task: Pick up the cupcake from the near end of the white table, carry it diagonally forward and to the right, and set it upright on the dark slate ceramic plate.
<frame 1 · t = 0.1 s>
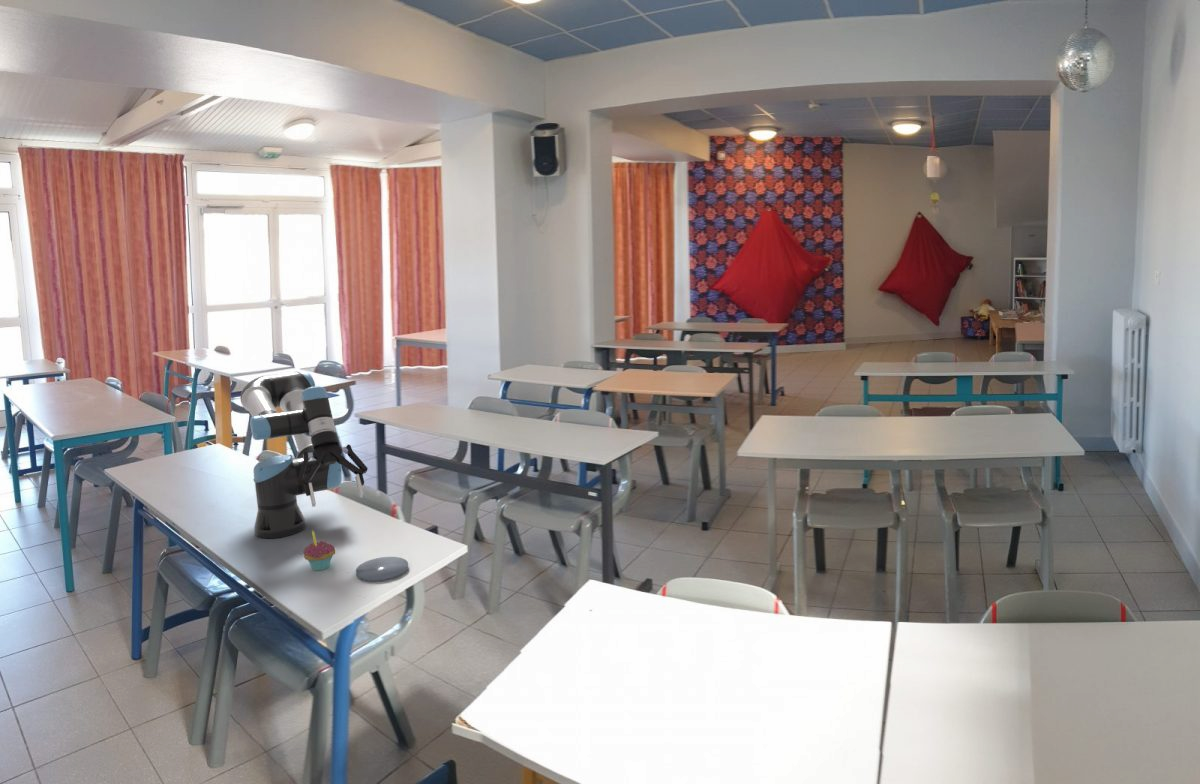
hand: (338, 500, 234), 15 cm above the table, tool tilted 35°, fingers open, 13 cm apart
slate plate: (382, 571, 221), on the table
cupcake: (320, 567, 225), on the table
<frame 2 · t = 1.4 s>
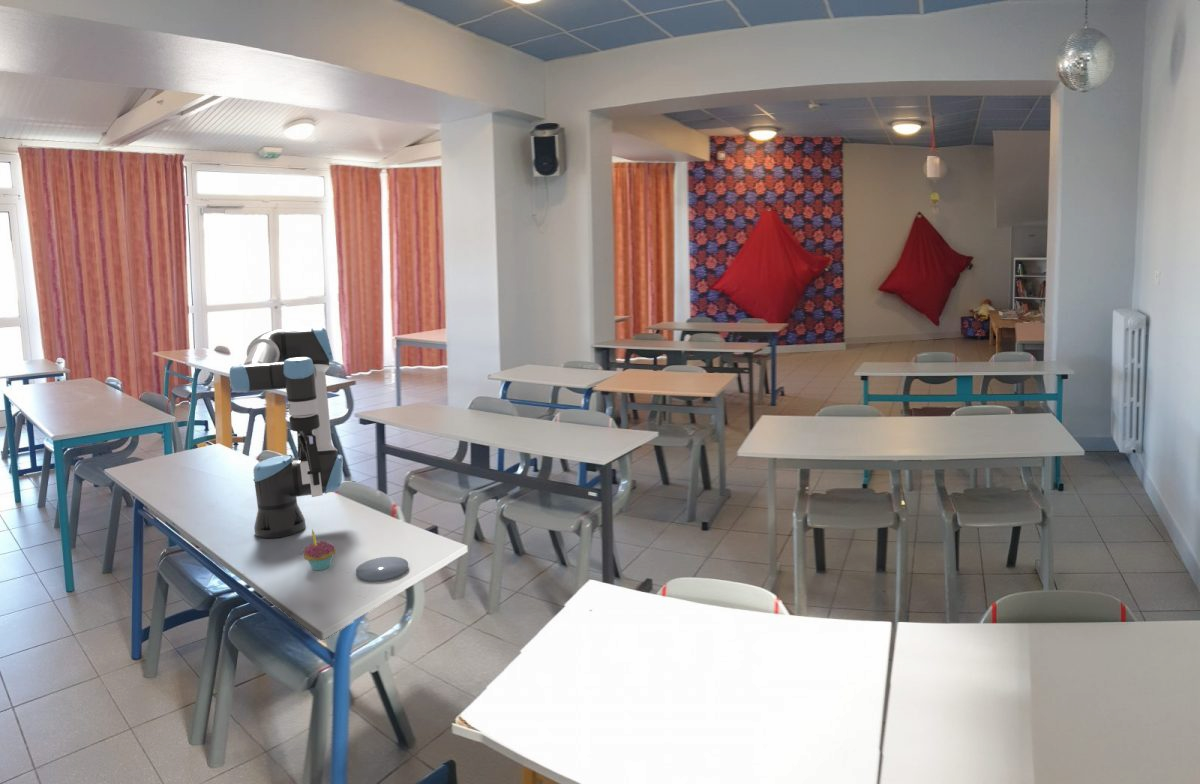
hand: (312, 489, 221), 23 cm above the table, tool pointing down, fingers open, 13 cm apart
nothing on the table moved.
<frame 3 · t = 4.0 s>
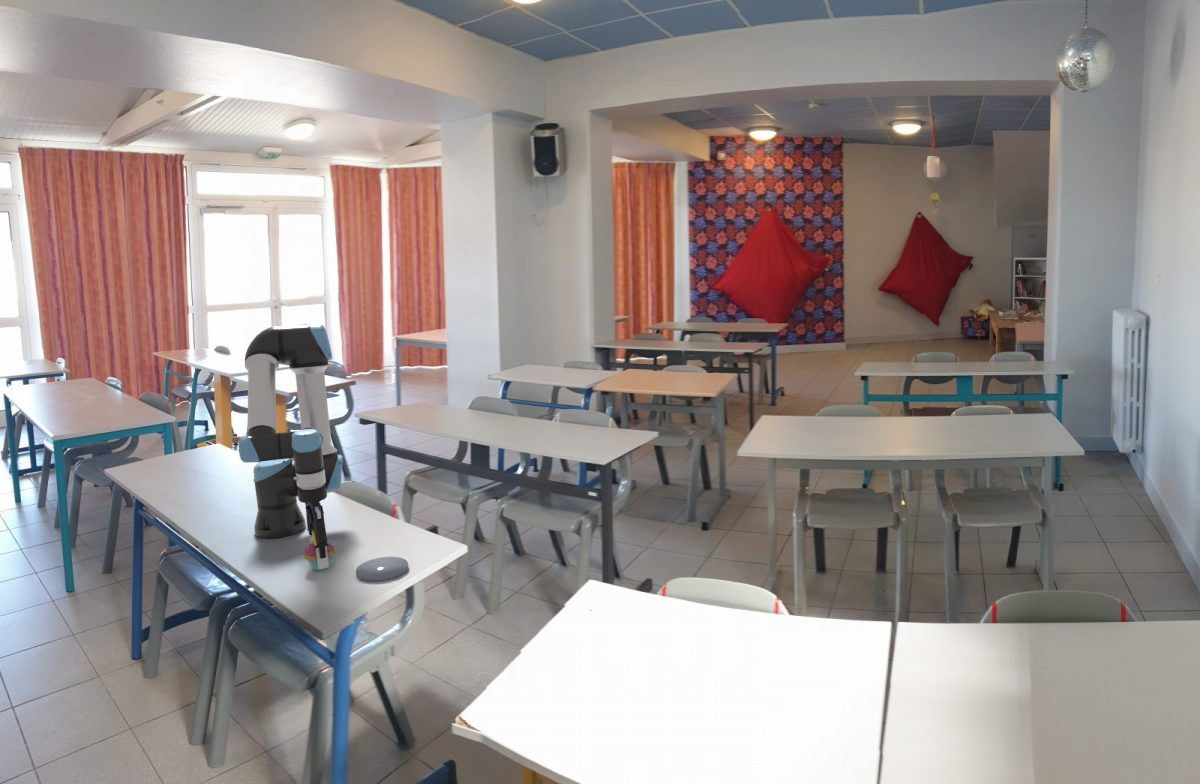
hand: (320, 562, 225), 1 cm above the table, tool pointing down, fingers closed on cupcake, 8 cm apart
cupcake: (320, 567, 225), on the table, touching gripper
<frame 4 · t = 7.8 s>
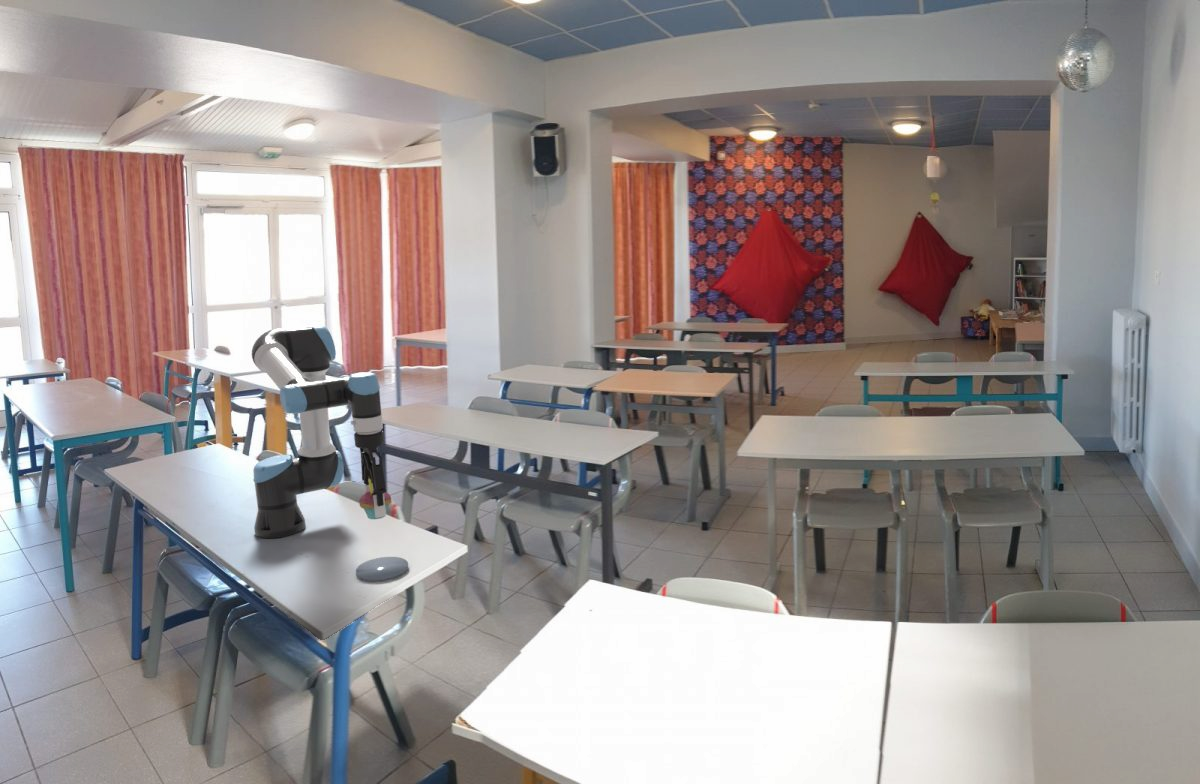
hand: (376, 511, 217), 17 cm above the table, tool pointing down, fingers closed on cupcake, 8 cm apart
cupcake: (376, 517, 218), point 16 cm above the table, touching gripper
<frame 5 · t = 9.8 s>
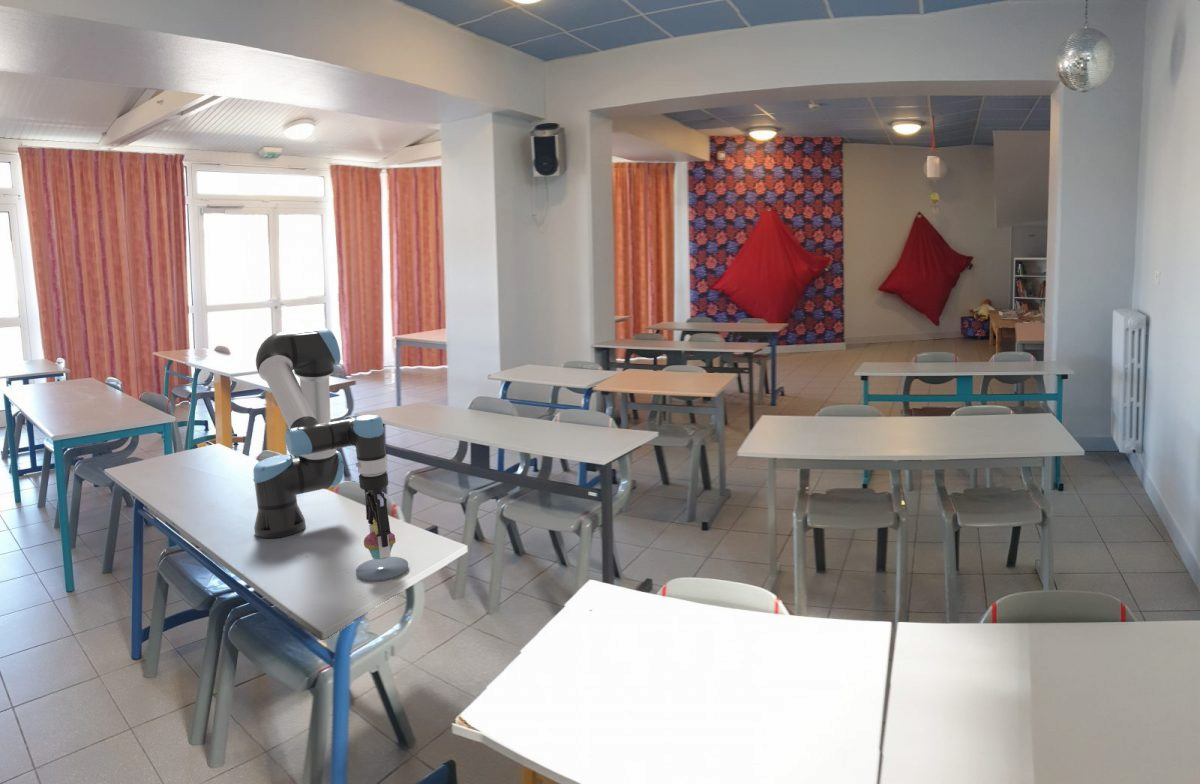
hand: (380, 551, 220), 6 cm above the table, tool pointing down, fingers closed on cupcake, 8 cm apart
cupcake: (381, 556, 220), point 4 cm above the table, touching gripper
when the fingers open (4 cm above the table, at t = 11.1 s): cupcake drops 1 cm, resting on slate plate.
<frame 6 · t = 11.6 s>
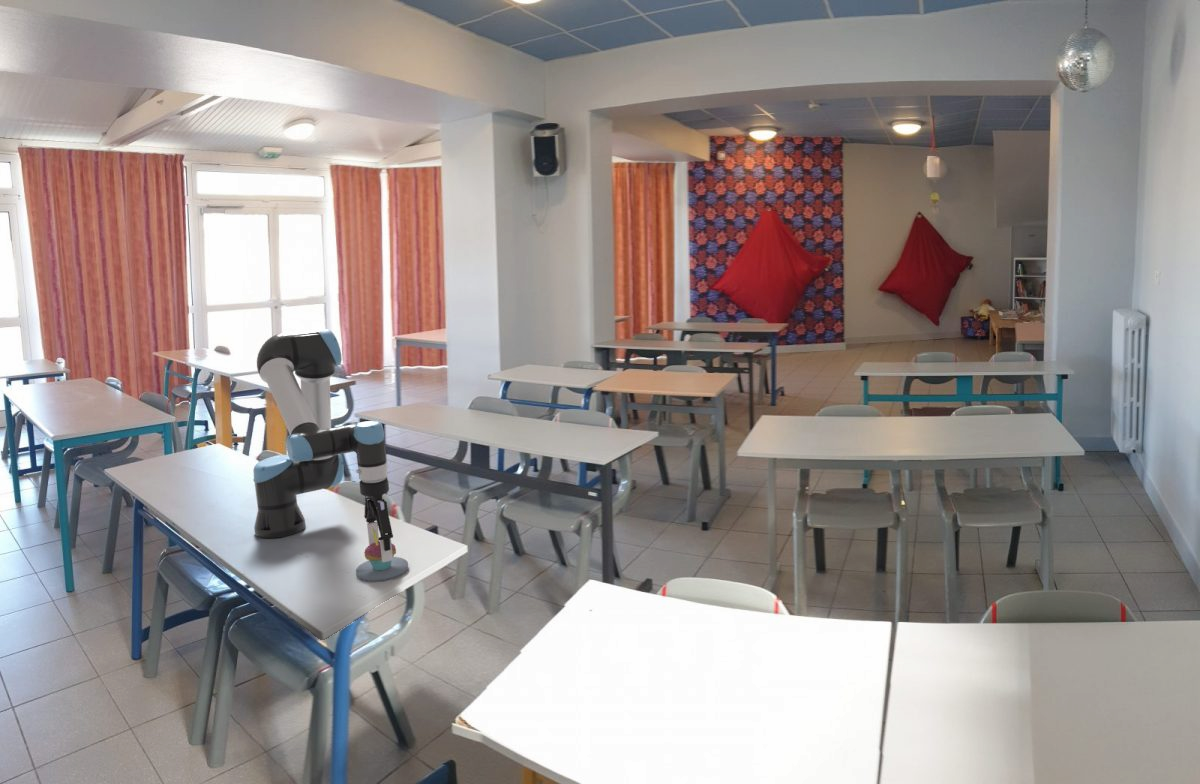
hand: (380, 552, 220), 5 cm above the table, tool pointing down, fingers open, 13 cm apart
cupcake: (381, 567, 221), point 1 cm above the table, touching slate plate
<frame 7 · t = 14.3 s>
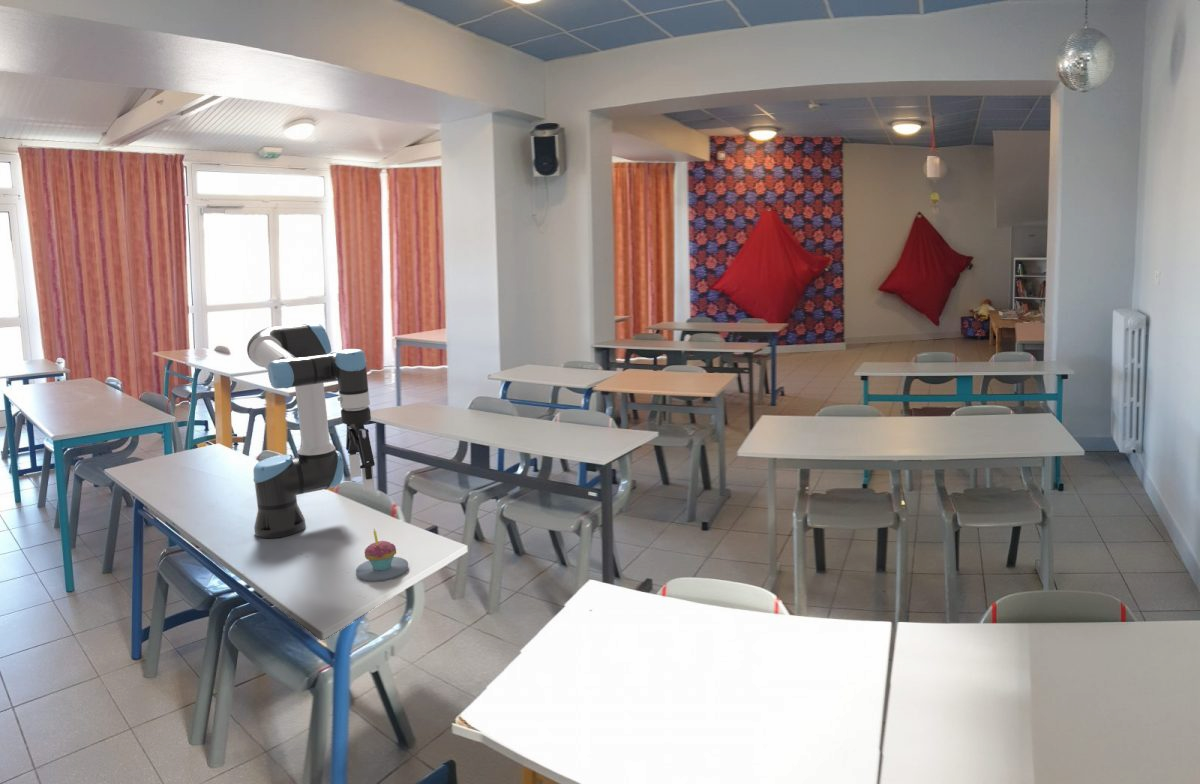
hand: (362, 483, 218), 25 cm above the table, tool pointing down, fingers open, 13 cm apart
nothing on the table moved.
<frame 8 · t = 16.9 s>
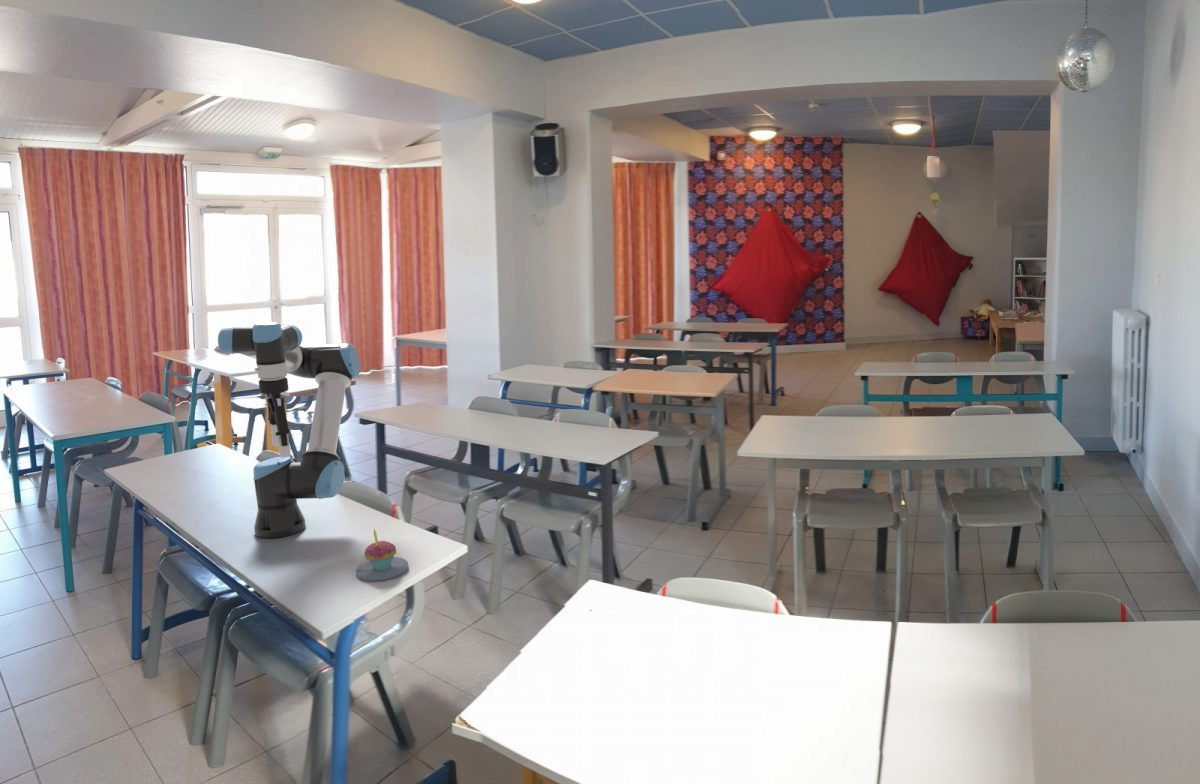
hand: (281, 451, 227), 32 cm above the table, tool pointing down, fingers open, 13 cm apart
nothing on the table moved.
at the end: slate plate 0.0 cm off-centre on the slate plate, point 0.0 cm above the slate plate's base; cupcake inside the target area on the slate plate (0.1 cm from its centre), point 1.0 cm above the slate plate's base; cupcake tilted 0° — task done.
